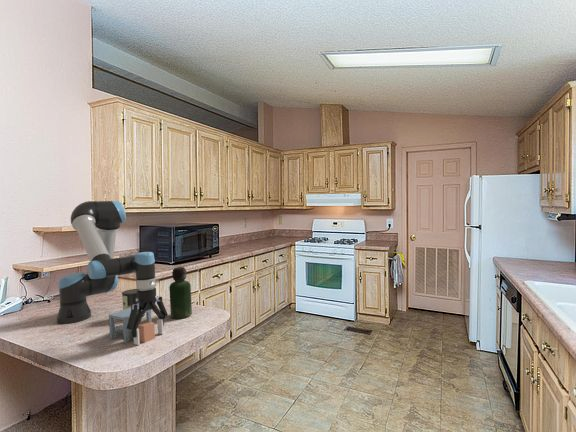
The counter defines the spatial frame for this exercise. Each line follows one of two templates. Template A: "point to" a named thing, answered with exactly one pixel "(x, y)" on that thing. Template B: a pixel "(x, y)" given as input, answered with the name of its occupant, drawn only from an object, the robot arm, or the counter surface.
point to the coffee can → (130, 299)
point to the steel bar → (120, 331)
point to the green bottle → (180, 295)
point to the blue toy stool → (124, 322)
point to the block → (146, 331)
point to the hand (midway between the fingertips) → (149, 338)
